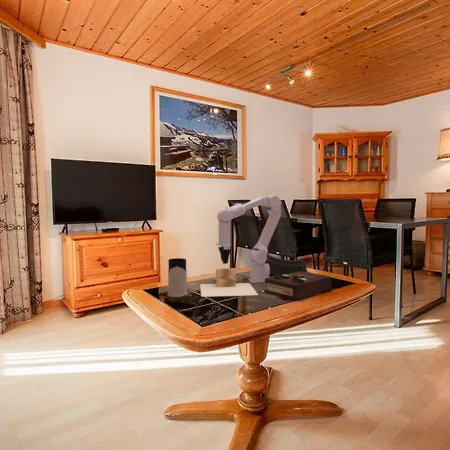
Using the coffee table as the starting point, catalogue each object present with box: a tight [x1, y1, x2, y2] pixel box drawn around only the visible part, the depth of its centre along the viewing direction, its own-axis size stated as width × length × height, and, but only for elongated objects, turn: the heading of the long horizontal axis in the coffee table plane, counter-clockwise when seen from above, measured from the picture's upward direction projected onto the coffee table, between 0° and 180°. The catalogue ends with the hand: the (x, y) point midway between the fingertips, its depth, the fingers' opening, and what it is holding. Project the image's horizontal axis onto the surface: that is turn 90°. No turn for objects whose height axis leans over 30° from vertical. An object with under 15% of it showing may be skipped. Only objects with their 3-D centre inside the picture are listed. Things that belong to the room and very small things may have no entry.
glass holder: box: [167, 257, 188, 298], centre depth 144 cm, size 9×14×15 cm, turn 5°
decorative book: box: [264, 271, 332, 302], centre depth 146 cm, size 19×8×30 cm
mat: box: [199, 282, 259, 298], centre depth 149 cm, size 24×22×1 cm
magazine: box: [265, 253, 308, 275], centre depth 178 cm, size 17×3×30 cm
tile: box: [215, 267, 237, 287], centre depth 155 cm, size 9×3×8 cm, turn 96°
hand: (224, 262), depth 161 cm, fingers open, 6 cm apart
